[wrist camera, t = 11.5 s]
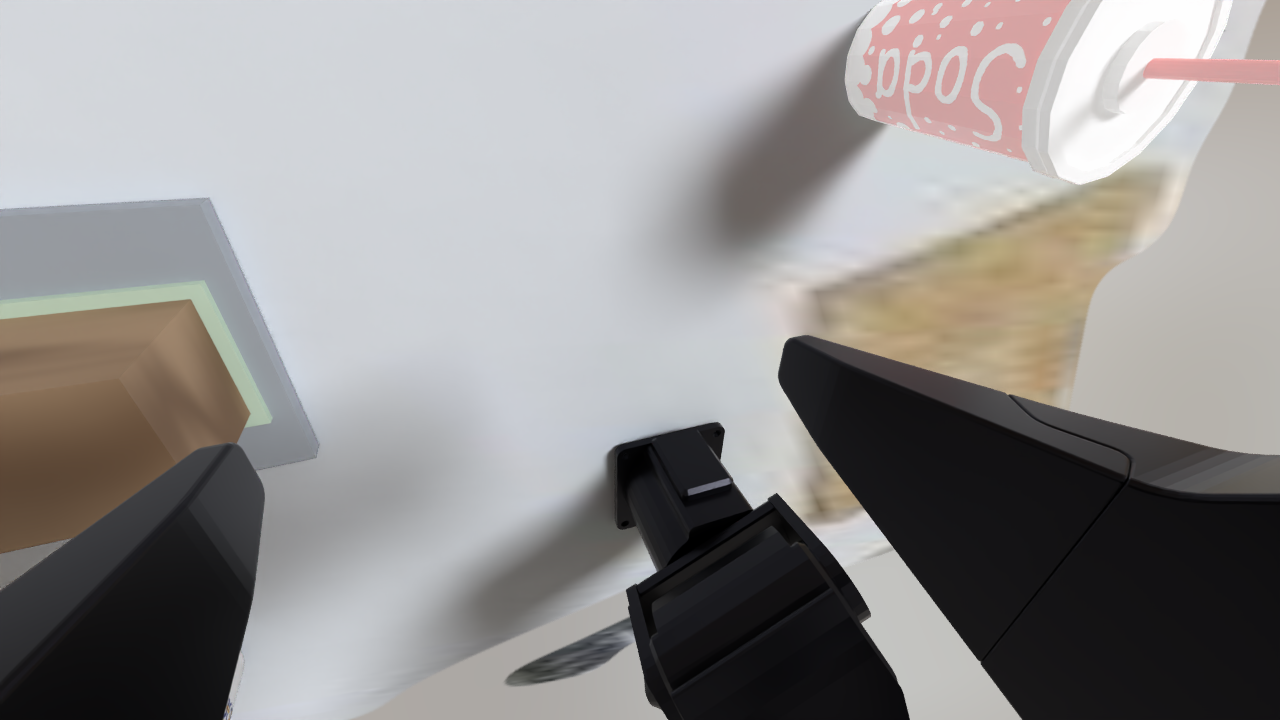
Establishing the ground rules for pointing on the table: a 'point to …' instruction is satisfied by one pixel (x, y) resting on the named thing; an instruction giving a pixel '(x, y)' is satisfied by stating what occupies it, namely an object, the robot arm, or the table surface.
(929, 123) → the beverage cup
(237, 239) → the table surface
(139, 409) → the walnut block
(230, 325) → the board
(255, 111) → the table surface
